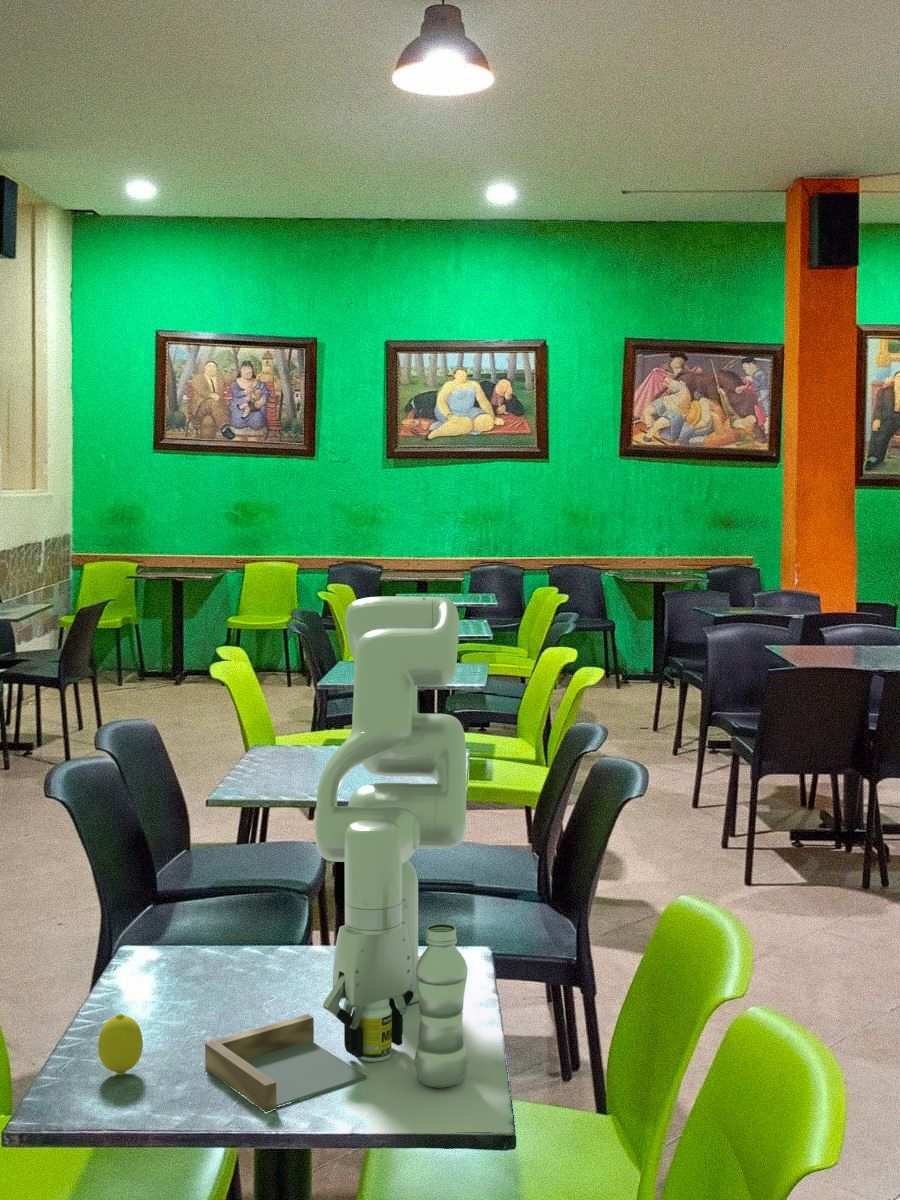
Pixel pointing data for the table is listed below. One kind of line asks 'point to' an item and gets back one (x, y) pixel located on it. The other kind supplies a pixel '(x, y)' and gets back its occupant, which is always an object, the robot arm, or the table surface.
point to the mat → (305, 1071)
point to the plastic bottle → (441, 1009)
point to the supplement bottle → (376, 1031)
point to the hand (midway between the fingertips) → (374, 1046)
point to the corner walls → (232, 1052)
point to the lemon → (120, 1044)
